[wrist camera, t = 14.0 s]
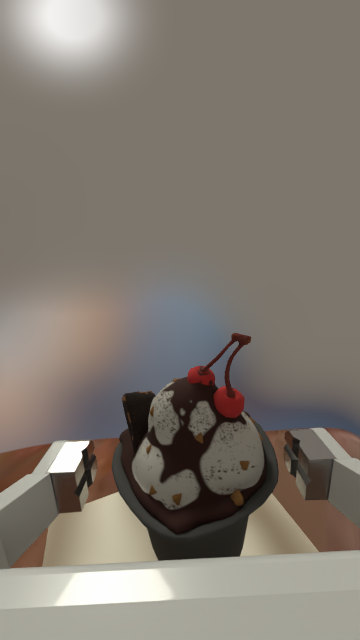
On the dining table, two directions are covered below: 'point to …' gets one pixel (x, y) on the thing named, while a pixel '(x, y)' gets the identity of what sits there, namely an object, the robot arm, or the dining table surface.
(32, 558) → the dining table surface
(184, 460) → the sundae
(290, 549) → the cream block
